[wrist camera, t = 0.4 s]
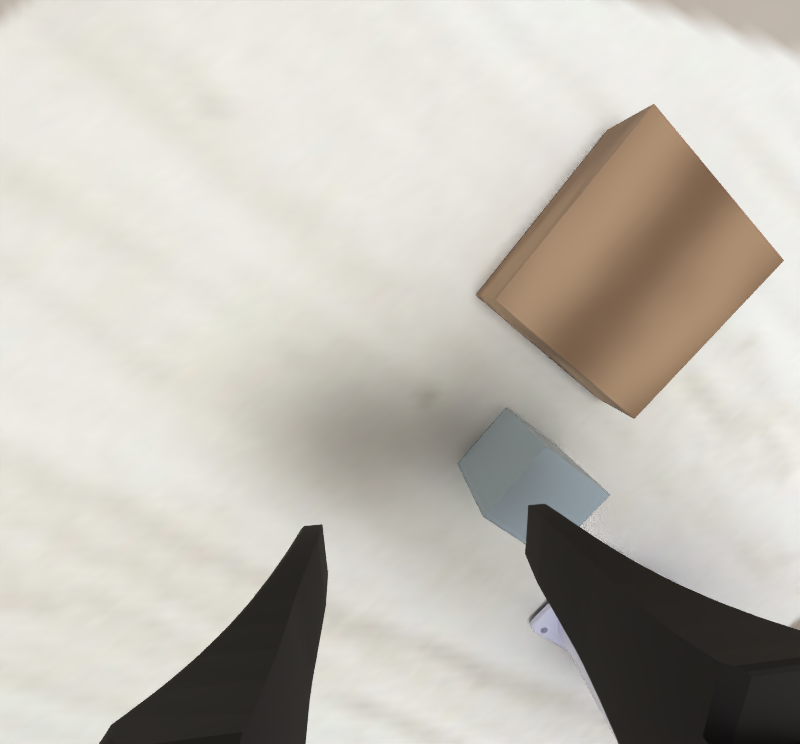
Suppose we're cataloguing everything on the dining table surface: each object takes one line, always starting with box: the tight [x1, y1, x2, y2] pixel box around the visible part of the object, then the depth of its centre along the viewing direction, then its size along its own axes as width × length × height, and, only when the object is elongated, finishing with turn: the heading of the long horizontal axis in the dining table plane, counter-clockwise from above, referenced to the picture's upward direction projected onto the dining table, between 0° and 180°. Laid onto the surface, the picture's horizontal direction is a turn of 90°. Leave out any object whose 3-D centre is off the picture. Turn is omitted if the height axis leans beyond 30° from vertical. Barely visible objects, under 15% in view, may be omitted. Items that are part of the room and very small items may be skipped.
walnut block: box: [476, 104, 784, 419], centre depth 19 cm, size 10×10×3 cm
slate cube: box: [458, 408, 610, 544], centre depth 20 cm, size 4×4×5 cm
